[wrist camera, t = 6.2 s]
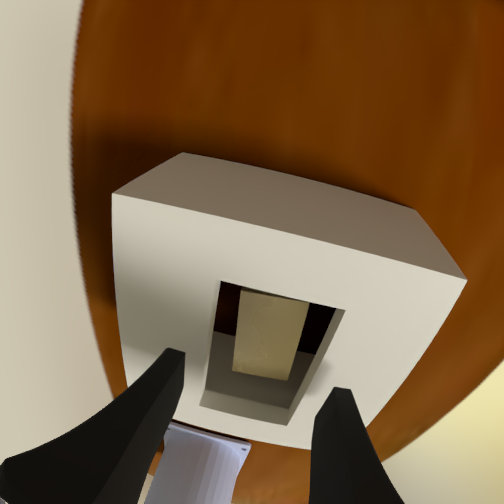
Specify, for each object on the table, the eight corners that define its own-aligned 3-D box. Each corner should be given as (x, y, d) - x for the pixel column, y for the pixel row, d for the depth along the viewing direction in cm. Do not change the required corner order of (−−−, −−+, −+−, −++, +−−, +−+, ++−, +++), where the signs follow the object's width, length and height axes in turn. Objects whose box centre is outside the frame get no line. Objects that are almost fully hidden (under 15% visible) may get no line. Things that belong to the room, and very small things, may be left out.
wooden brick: (293, 317, 17) (287, 380, 14) (248, 309, 18) (232, 370, 14) (310, 245, 15) (309, 302, 11) (258, 236, 15) (240, 290, 12)
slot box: (340, 370, 19) (341, 453, 14) (169, 329, 19) (131, 403, 14) (415, 209, 13) (467, 280, 8) (182, 152, 14) (112, 193, 9)
